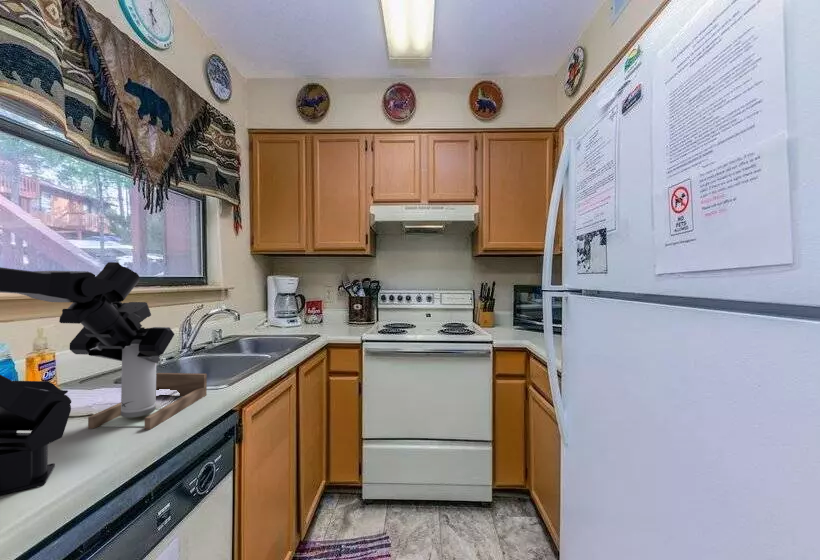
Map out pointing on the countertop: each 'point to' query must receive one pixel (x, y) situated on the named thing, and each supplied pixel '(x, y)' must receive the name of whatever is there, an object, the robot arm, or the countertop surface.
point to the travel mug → (137, 382)
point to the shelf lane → (184, 383)
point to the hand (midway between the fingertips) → (143, 360)
